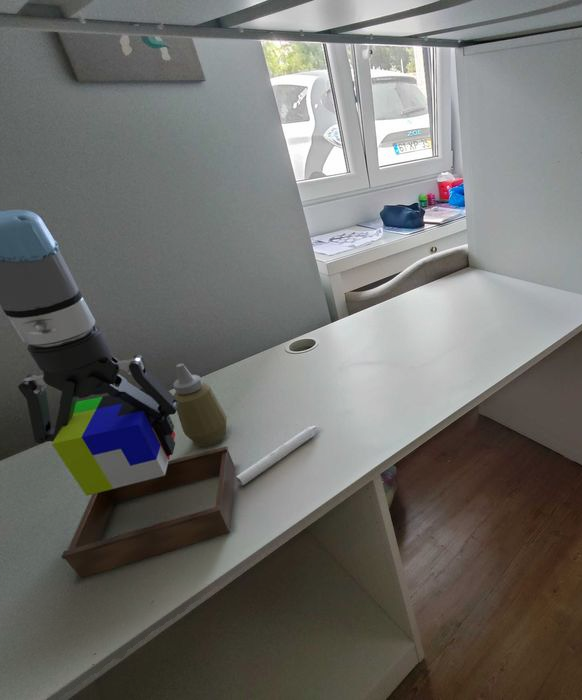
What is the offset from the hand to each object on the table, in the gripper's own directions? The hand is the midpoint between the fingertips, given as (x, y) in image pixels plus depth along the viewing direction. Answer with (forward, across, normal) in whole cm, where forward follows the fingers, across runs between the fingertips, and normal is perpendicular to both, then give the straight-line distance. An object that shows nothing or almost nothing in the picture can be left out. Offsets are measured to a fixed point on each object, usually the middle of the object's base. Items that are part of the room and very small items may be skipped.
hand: (132, 459), depth 69 cm
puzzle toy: (+1, 0, 0) cm, 1 cm away
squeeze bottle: (+13, +6, +19) cm, 24 cm away
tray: (+13, +1, 0) cm, 13 cm away
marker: (+13, +20, +7) cm, 25 cm away
